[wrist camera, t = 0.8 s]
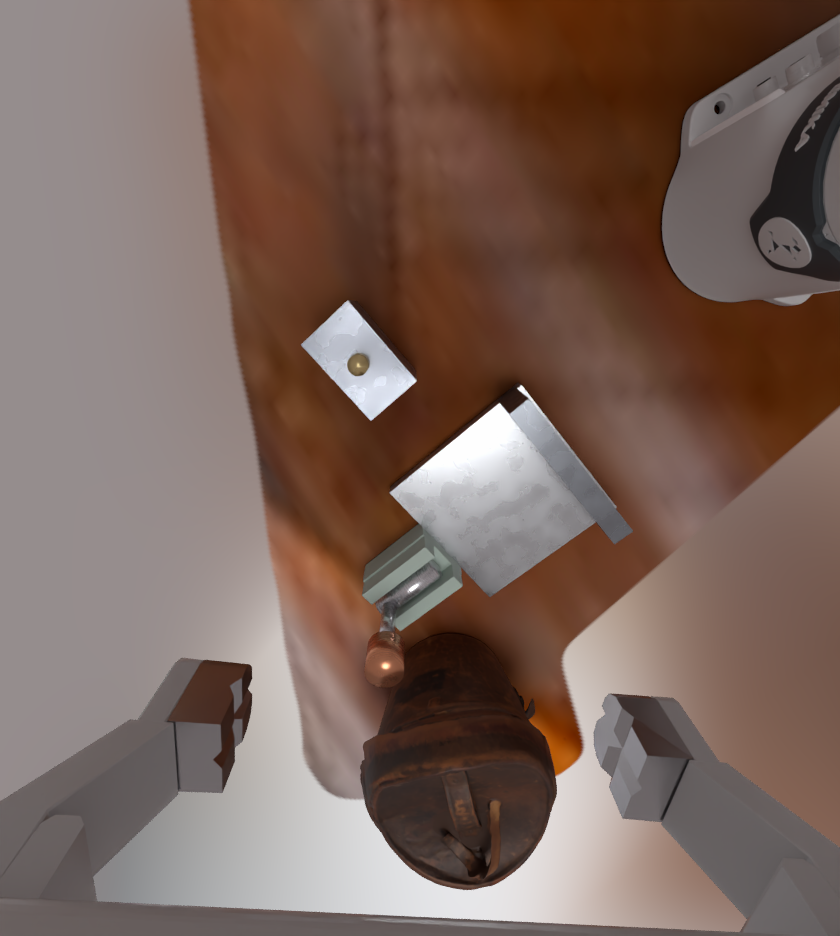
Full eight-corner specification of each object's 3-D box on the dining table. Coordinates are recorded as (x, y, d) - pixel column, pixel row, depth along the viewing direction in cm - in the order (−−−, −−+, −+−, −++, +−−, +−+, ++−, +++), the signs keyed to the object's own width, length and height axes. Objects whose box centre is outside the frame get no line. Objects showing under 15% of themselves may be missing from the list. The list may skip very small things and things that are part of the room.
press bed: (518, 382, 43) (534, 394, 37) (610, 501, 47) (637, 528, 41) (390, 486, 46) (387, 512, 40) (487, 588, 50) (497, 624, 45)
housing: (356, 300, 40) (344, 300, 33) (416, 370, 42) (417, 383, 35) (316, 339, 41) (296, 346, 34) (376, 405, 43) (369, 425, 36)
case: (460, 761, 59) (480, 943, 42) (337, 681, 54) (304, 849, 37) (561, 676, 55) (629, 839, 38) (437, 582, 50) (452, 719, 33)
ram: (424, 551, 45) (428, 619, 35) (445, 572, 46) (454, 644, 36) (367, 594, 46) (356, 670, 37) (388, 614, 47) (382, 694, 38)
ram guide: (422, 520, 47) (423, 545, 42) (458, 558, 49) (464, 587, 44) (365, 565, 49) (360, 593, 44) (402, 600, 51) (401, 632, 46)
